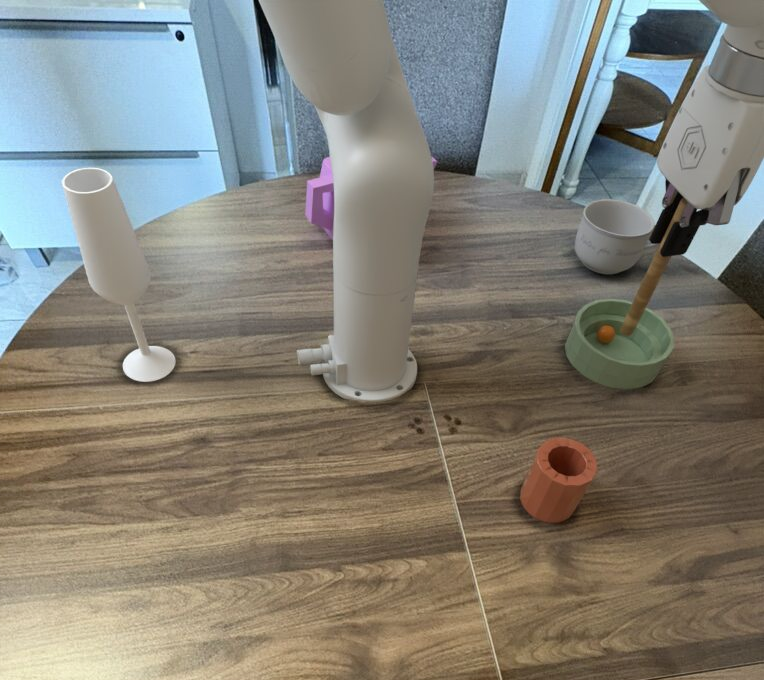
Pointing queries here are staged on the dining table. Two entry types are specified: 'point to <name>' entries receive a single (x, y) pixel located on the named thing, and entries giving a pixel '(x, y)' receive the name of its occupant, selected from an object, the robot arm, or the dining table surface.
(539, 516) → the holder
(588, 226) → the teacup
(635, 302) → the stick
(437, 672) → the dining table surface
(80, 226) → the champagne flute
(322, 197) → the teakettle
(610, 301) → the bowl
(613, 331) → the bead
